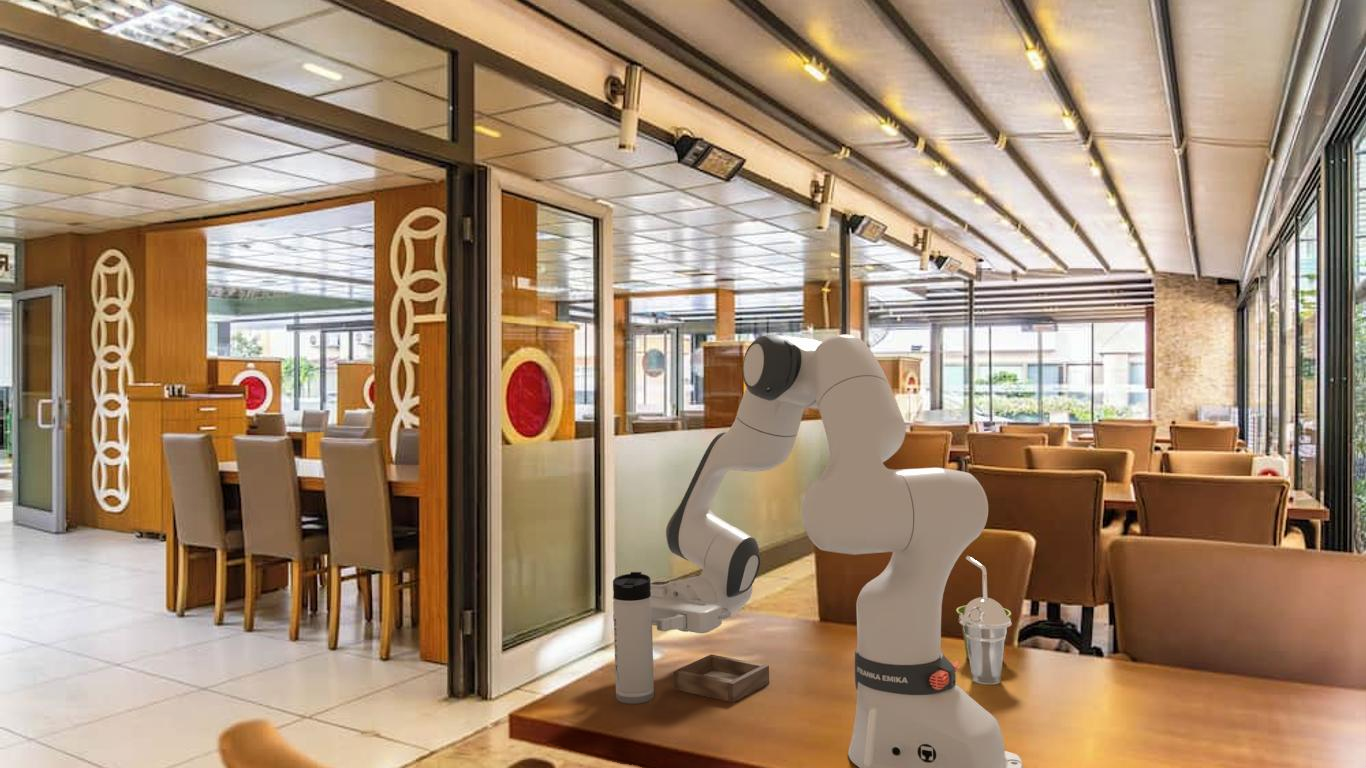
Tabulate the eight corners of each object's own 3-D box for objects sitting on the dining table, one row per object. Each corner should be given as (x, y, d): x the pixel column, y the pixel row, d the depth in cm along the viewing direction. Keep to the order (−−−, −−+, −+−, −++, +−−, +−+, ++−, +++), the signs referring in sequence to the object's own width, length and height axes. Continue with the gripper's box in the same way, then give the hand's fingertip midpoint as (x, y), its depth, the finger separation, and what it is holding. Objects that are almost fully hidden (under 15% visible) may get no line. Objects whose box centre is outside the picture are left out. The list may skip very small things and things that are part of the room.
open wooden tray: (769, 683, 158) (768, 665, 158) (733, 702, 149) (732, 683, 149) (711, 671, 165) (710, 654, 165) (673, 689, 156) (673, 671, 156)
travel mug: (658, 691, 155) (654, 571, 155) (649, 705, 149) (645, 580, 149) (622, 689, 157) (618, 571, 157) (611, 703, 150) (607, 579, 150)
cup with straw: (961, 687, 153) (958, 566, 153) (958, 670, 162) (955, 555, 162) (1015, 690, 151) (1012, 567, 151) (1010, 672, 160) (1007, 556, 160)
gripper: (736, 630, 159) (688, 650, 148) (644, 615, 171) (593, 632, 160) (736, 593, 159) (687, 611, 148) (643, 580, 171) (592, 595, 160)
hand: (637, 622), depth 154 cm, fingers open, 8 cm apart
